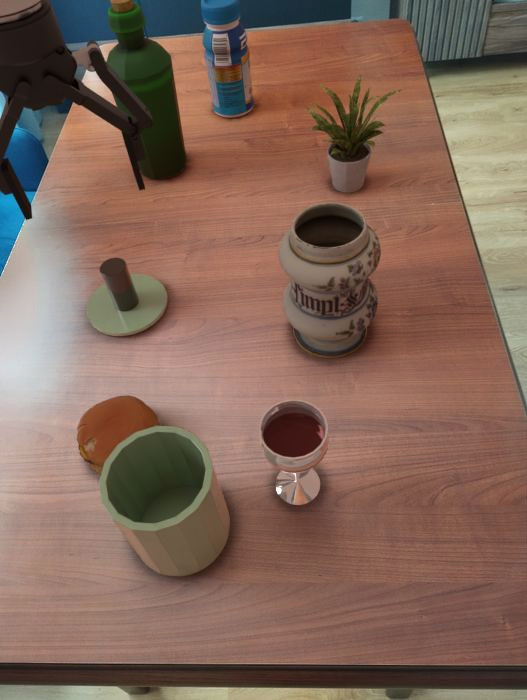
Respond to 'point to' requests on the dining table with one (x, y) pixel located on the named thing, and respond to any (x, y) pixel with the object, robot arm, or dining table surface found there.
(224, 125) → the dining table surface
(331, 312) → the apothecary jar
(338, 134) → the house plant
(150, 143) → the bottle
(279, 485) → the wineglass
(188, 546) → the canister
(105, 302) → the lid
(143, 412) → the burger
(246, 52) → the beverage bottle
